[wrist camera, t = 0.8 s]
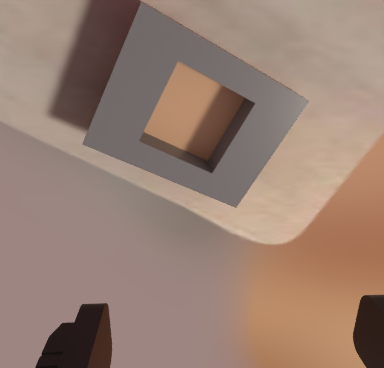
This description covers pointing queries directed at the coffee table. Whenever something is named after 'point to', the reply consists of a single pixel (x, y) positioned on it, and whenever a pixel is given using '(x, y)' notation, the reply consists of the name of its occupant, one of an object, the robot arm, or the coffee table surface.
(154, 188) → the coffee table surface
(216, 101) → the plate
